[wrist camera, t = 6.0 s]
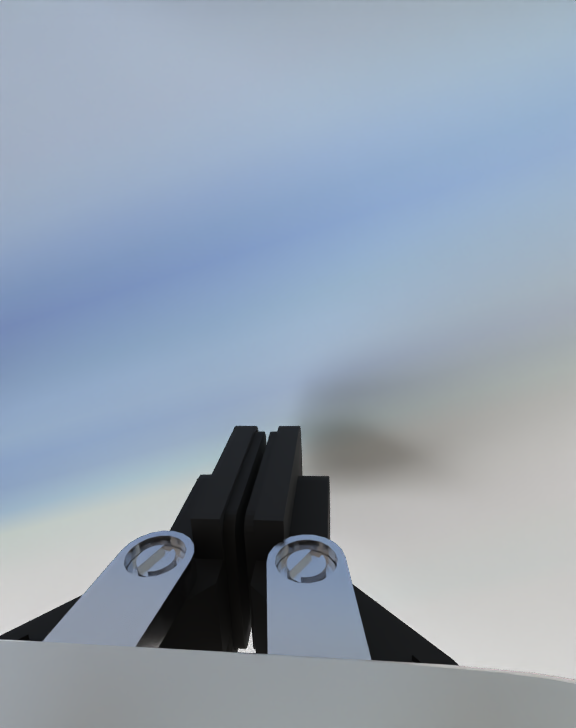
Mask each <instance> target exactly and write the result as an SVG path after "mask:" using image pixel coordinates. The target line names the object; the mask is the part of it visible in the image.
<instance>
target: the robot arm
mask: <svg viewBox="0 0 576 728" xmlns="http://www.w3.org/2000/svg"><path fill="white" fill-rule="evenodd" d="M251 627H252V638H253V648H254V649H256V653H240V652H238V648H240V649H246V648H247V646H248V641H249V636H250V632H251ZM0 728H576V680H574V679H568V678H562V677H556V676H550V675H544V674H538V673H531V672H520V671H510V670H499V669H488V668H478V667H467V666H459V665H458V664H457V663H456V662H455V661H454V660H453V659H451V658H450V657H449V656H447V655H446V654H445V653H443V652H442V651H441V650H439V649H438V648H437V647H435V646H434V645H433V644H431V643H430V642H429V641H427V640H426V639H425V638H423V637H422V636H421V635H420V634H418V633H417V632H416V631H414V630H413V629H412V628H410V627H409V626H408V625H406V624H405V623H404V622H402V621H401V620H400V619H398V618H397V617H396V616H394V615H393V614H392V613H390V612H389V611H388V610H386V609H385V608H384V607H382V606H381V605H380V604H378V603H377V602H376V601H374V600H373V599H372V598H370V597H369V596H368V595H366V594H365V593H364V592H362V591H361V590H360V589H358V588H357V587H356V586H354V585H353V584H352V581H351V577H350V573H349V569H348V565H347V561H346V557H345V555H344V553H343V551H342V549H341V548H340V547H339V546H338V545H337V544H336V543H335V542H333V541H331V540H330V486H329V476H302V449H301V428H300V426H279V428H278V431H277V432H270V435H269V439H268V442H267V445H266V434H265V432H258V428H257V426H235V428H234V430H233V432H232V434H231V436H230V438H229V440H228V442H227V444H226V446H225V448H224V450H223V452H222V455H221V457H220V459H219V461H218V463H217V465H216V467H215V469H214V471H213V473H212V475H200V476H199V478H198V479H197V481H196V483H195V485H194V487H193V488H192V490H191V492H190V494H189V496H188V498H187V500H186V502H185V503H184V505H183V507H182V509H181V511H180V513H179V515H178V516H177V518H176V520H175V522H174V524H173V526H172V528H171V530H170V531H159V532H153V533H149V534H147V535H144V536H141V537H139V538H137V539H136V540H134V541H132V542H130V543H129V544H128V545H127V546H126V547H125V548H124V549H122V550H121V552H120V553H119V554H118V555H117V556H116V557H115V558H114V560H113V561H112V562H111V563H110V564H109V565H108V566H107V568H106V569H105V570H104V571H103V572H102V573H101V575H100V576H99V577H98V578H97V579H96V580H95V581H94V583H93V584H92V585H91V586H90V587H89V588H88V589H87V591H86V592H85V593H84V594H83V595H81V596H79V597H77V598H75V599H73V600H71V601H69V602H67V603H65V604H63V605H61V606H59V607H57V608H55V609H53V610H51V611H49V612H47V613H45V614H43V615H41V616H39V617H37V618H35V619H33V620H31V621H29V622H27V623H25V624H23V625H21V626H19V627H17V628H15V629H13V630H11V631H9V632H7V633H5V634H3V635H1V636H0Z"/></svg>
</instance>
